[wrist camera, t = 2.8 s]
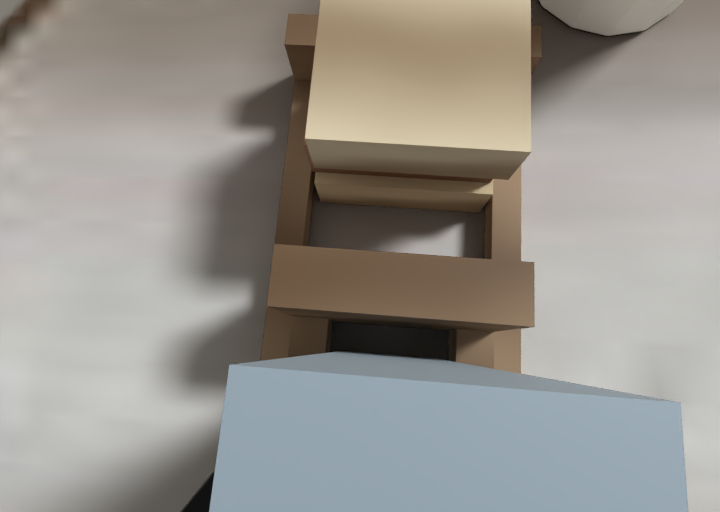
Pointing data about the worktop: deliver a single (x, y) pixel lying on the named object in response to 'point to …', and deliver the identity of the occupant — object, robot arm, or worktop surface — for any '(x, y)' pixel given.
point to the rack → (392, 262)
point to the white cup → (611, 14)
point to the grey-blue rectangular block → (438, 440)
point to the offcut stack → (419, 101)
